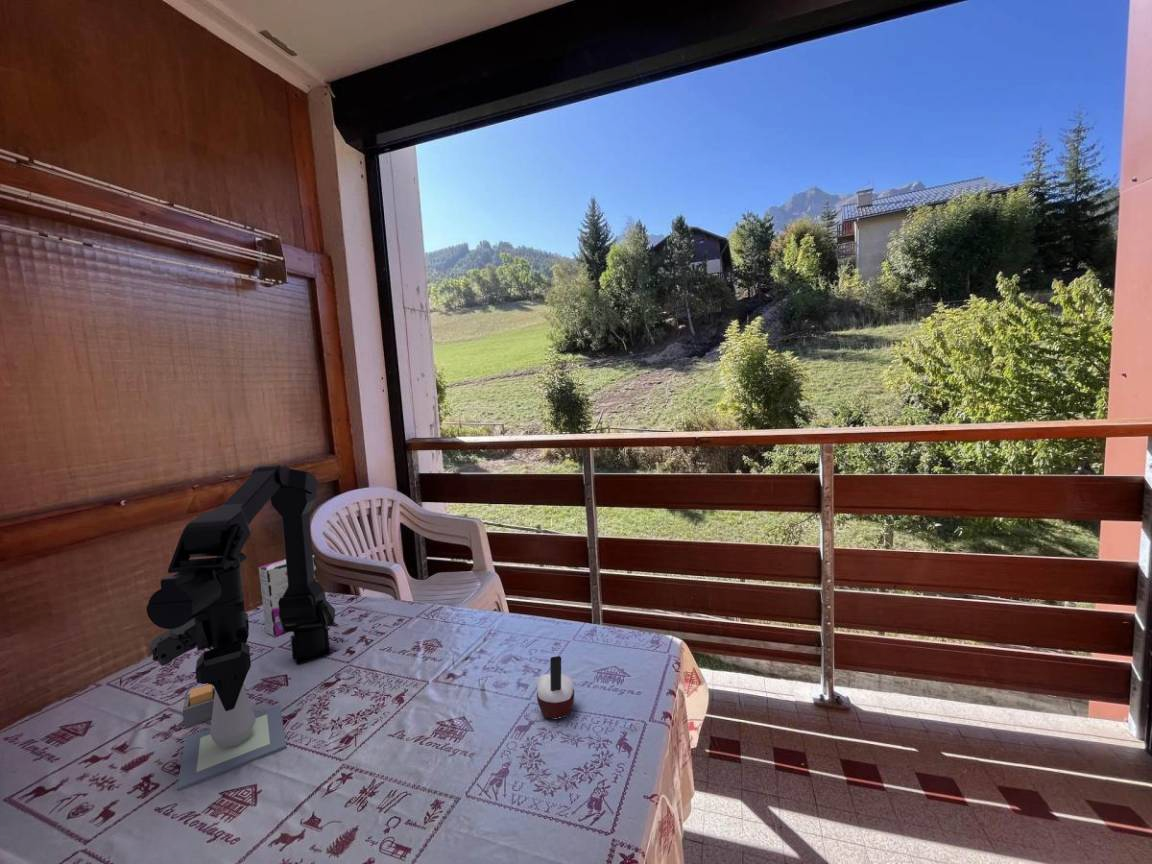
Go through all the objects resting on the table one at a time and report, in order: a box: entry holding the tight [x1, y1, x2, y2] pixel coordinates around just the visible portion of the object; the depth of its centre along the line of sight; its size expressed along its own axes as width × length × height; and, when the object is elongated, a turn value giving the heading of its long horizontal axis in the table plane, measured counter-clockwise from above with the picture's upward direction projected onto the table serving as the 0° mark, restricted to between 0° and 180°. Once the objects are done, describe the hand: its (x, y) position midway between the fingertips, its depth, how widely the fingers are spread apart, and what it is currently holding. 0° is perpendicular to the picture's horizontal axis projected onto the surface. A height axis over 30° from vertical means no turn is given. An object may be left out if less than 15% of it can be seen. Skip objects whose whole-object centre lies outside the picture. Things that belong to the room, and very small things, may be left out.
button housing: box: [182, 687, 215, 730], centre depth 82 cm, size 5×5×3 cm
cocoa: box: [536, 655, 575, 719], centre depth 78 cm, size 10×6×12 cm, turn 167°
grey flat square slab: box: [176, 704, 287, 791], centre depth 75 cm, size 13×13×1 cm
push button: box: [189, 684, 214, 706], centre depth 82 cm, size 3×3×3 cm
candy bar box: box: [258, 555, 318, 638], centre depth 116 cm, size 11×5×16 cm, turn 147°
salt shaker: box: [210, 682, 256, 750], centre depth 75 cm, size 6×6×13 cm
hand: (230, 695), depth 74 cm, fingers open, 9 cm apart
